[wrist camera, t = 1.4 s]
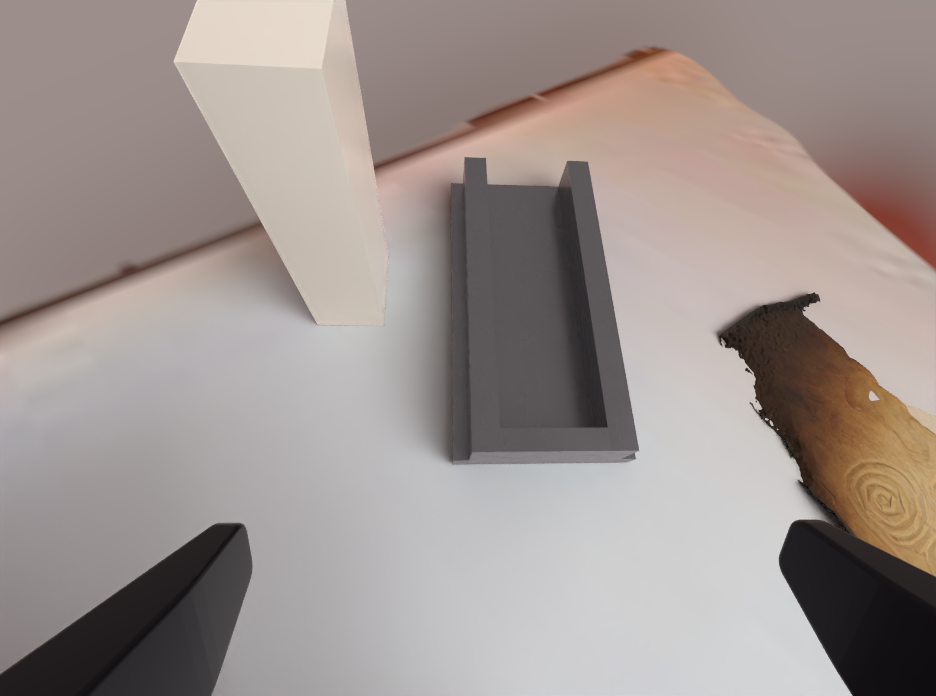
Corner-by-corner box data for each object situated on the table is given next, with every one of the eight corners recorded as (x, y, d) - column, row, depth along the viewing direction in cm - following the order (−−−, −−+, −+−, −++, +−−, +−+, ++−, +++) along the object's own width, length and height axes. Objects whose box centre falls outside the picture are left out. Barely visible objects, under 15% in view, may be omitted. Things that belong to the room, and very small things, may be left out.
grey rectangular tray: (627, 462, 21) (655, 450, 19) (452, 464, 21) (455, 452, 18) (583, 199, 28) (599, 162, 25) (450, 195, 28) (452, 156, 25)
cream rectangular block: (384, 325, 24) (321, 68, 11) (317, 325, 23) (173, 61, 11) (388, 256, 25) (339, -34, 13) (326, 254, 25) (213, -43, 12)
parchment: (1239, 710, 19) (1274, 717, 18) (1144, 891, 16) (1180, 908, 15) (795, 286, 27) (806, 278, 26) (682, 358, 24) (690, 351, 24)
